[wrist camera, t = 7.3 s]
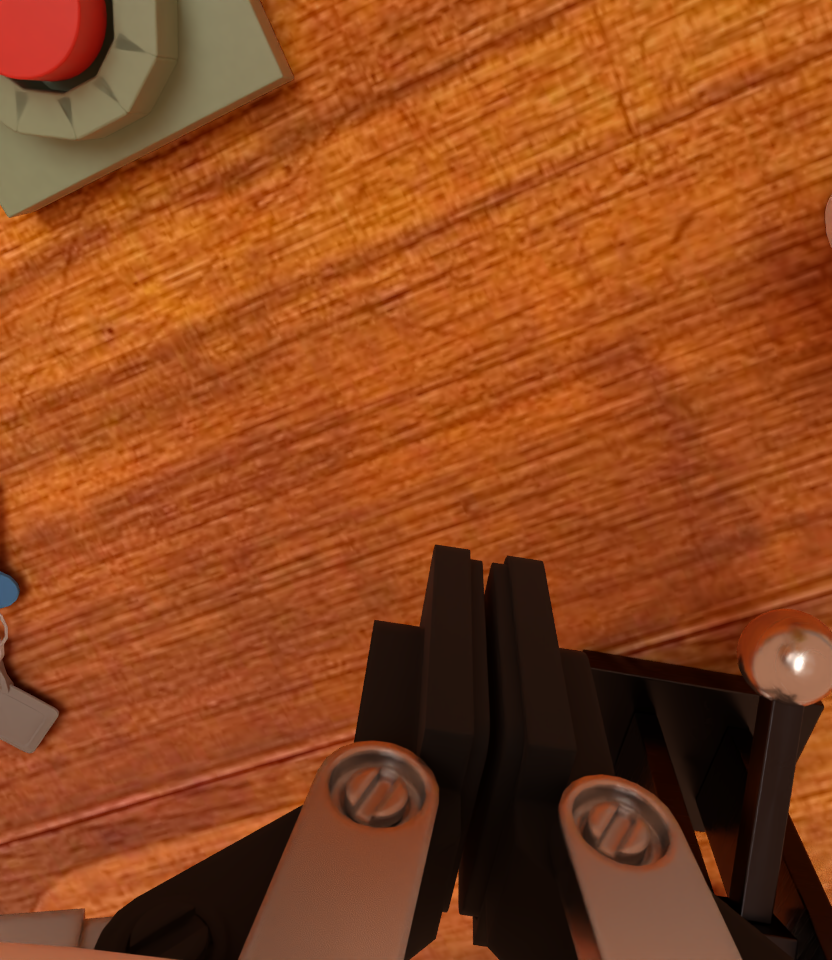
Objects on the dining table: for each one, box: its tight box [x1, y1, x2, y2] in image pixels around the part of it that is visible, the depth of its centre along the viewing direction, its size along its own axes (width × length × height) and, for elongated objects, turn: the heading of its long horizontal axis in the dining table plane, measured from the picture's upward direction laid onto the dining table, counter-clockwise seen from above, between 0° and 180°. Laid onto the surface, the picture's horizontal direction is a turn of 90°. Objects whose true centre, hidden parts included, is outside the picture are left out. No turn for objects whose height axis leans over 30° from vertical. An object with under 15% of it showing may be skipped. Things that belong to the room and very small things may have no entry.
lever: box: [717, 609, 832, 960], centre depth 26 cm, size 13×3×3 cm, turn 171°
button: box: [0, 0, 107, 81], centre depth 21 cm, size 4×4×2 cm
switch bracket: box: [582, 650, 832, 960], centre depth 30 cm, size 8×10×12 cm
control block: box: [0, 0, 294, 218], centre depth 23 cm, size 10×8×4 cm
